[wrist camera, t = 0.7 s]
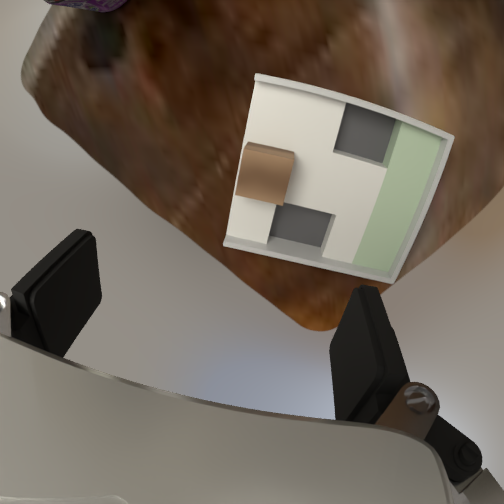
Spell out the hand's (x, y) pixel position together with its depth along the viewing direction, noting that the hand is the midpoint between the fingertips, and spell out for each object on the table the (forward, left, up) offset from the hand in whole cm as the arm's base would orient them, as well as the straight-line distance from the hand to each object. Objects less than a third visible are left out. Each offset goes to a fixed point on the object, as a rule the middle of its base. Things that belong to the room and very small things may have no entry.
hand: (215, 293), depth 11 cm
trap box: (+3, +8, -28) cm, 30 cm away
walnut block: (+3, 0, -26) cm, 26 cm away
